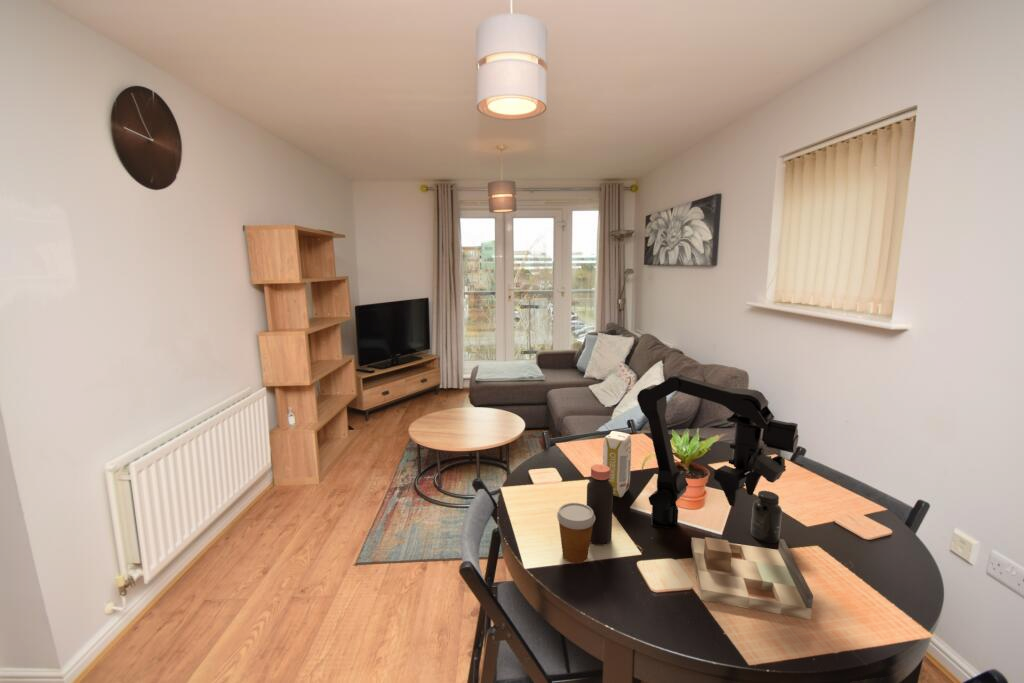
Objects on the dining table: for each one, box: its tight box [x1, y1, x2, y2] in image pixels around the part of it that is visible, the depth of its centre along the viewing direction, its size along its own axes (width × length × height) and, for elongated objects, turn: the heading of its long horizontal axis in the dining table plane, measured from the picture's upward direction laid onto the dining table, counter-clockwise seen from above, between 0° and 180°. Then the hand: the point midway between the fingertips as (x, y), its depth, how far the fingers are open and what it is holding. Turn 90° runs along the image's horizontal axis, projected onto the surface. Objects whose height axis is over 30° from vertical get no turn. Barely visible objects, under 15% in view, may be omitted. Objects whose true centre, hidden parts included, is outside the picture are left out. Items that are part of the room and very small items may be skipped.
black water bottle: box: [586, 463, 614, 546], centre depth 119 cm, size 7×7×20 cm
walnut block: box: [704, 536, 732, 573], centre depth 106 cm, size 5×5×5 cm
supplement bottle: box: [750, 490, 783, 544], centre depth 120 cm, size 7×7×12 cm
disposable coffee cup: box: [556, 502, 595, 564], centre depth 113 cm, size 10×10×12 cm
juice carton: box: [602, 430, 632, 498], centre depth 145 cm, size 8×9×19 cm
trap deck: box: [690, 537, 814, 620], centre depth 104 cm, size 21×20×6 cm
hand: (741, 500), depth 113 cm, fingers open, 9 cm apart
